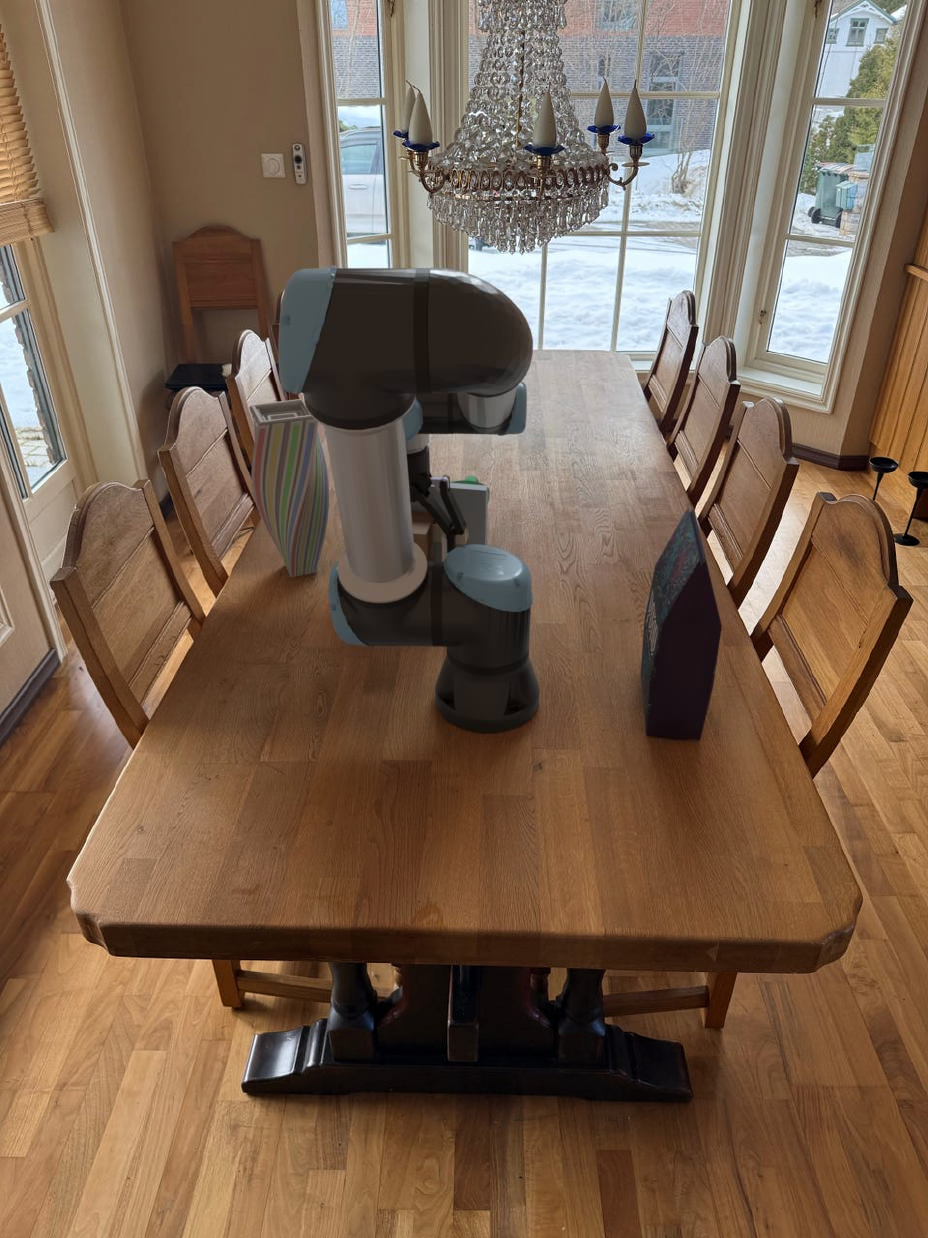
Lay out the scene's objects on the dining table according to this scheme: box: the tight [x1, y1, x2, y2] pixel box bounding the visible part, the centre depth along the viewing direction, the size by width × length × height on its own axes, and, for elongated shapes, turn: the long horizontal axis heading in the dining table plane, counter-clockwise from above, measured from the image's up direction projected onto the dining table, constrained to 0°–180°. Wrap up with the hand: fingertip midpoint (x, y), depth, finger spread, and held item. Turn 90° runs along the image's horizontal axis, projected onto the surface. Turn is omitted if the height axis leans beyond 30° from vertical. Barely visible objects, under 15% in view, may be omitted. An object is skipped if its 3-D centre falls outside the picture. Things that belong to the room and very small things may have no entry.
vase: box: [248, 398, 330, 578], centre depth 152 cm, size 14×14×30 cm
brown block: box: [411, 511, 436, 561], centre depth 149 cm, size 9×7×10 cm
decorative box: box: [640, 507, 723, 741], centre depth 119 cm, size 8×16×28 cm, turn 173°
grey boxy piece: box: [410, 483, 489, 561], centre depth 155 cm, size 11×24×18 cm, turn 79°
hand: (410, 565), depth 149 cm, fingers open, 12 cm apart
